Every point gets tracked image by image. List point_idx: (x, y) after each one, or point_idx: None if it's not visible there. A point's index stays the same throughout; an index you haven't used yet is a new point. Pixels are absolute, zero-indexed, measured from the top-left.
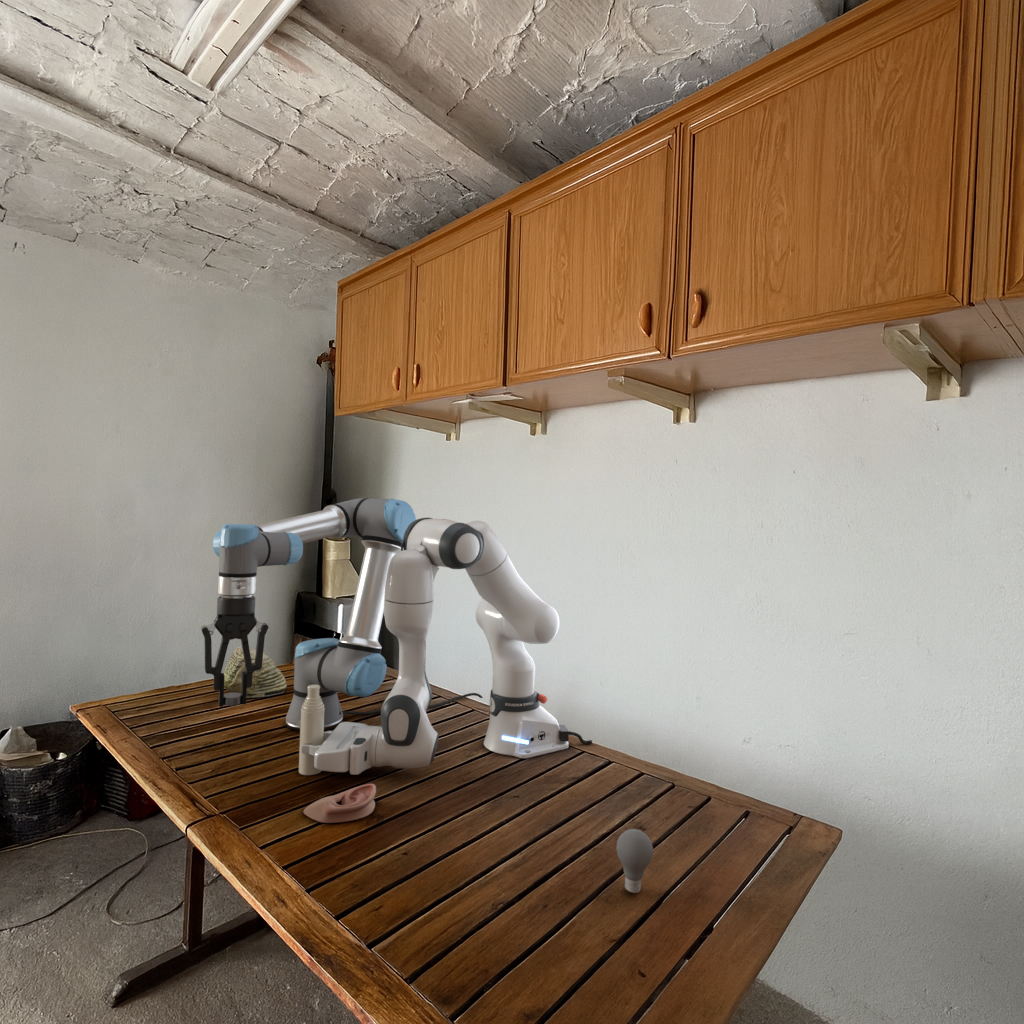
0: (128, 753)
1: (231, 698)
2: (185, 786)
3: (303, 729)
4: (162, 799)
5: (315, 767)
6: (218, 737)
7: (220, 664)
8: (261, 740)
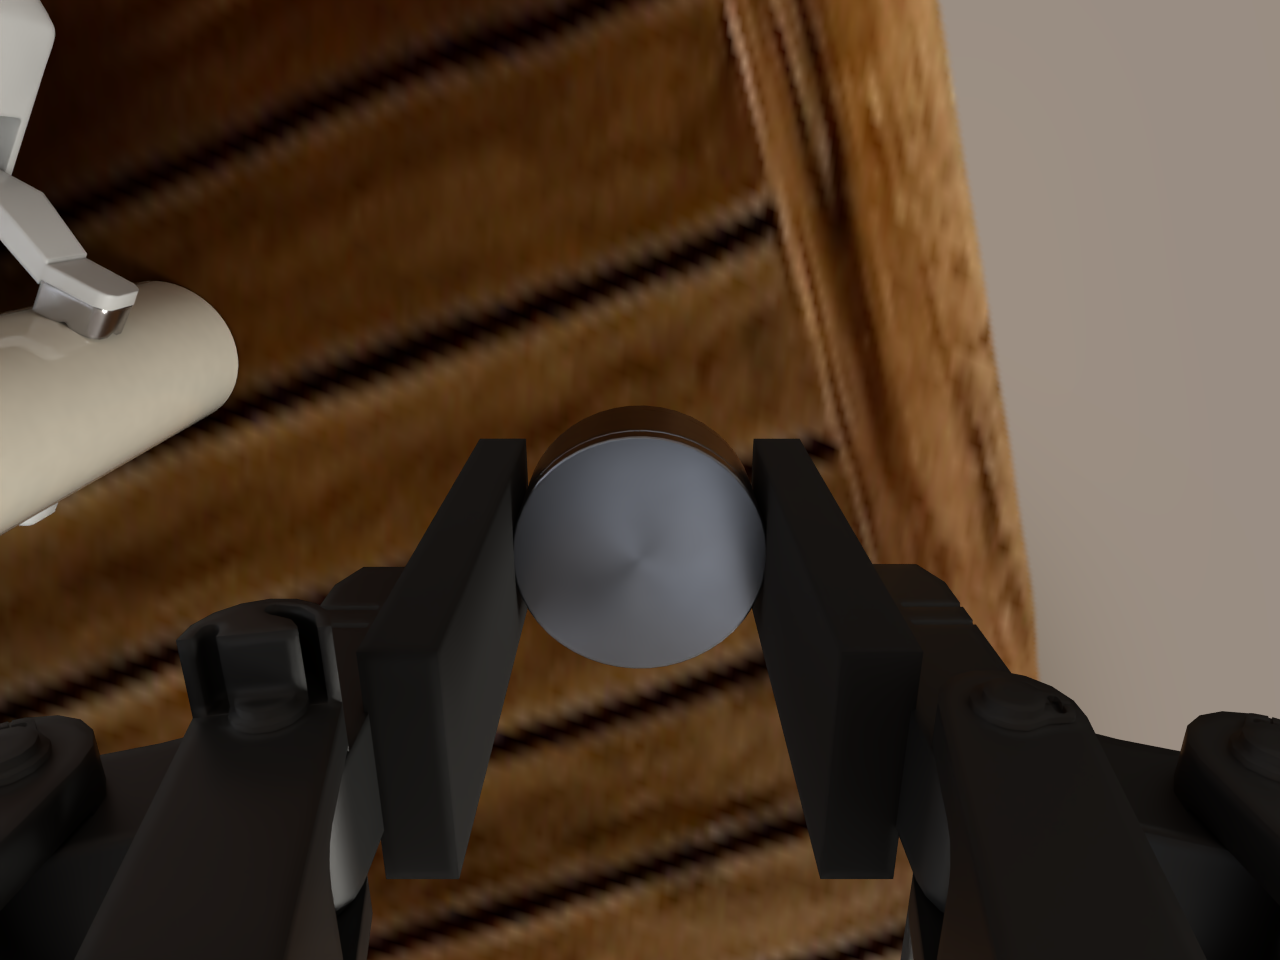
0: None
1: (665, 434)
2: (854, 414)
3: (31, 379)
4: (984, 294)
5: (44, 8)
6: (634, 942)
7: (1063, 875)
8: None
